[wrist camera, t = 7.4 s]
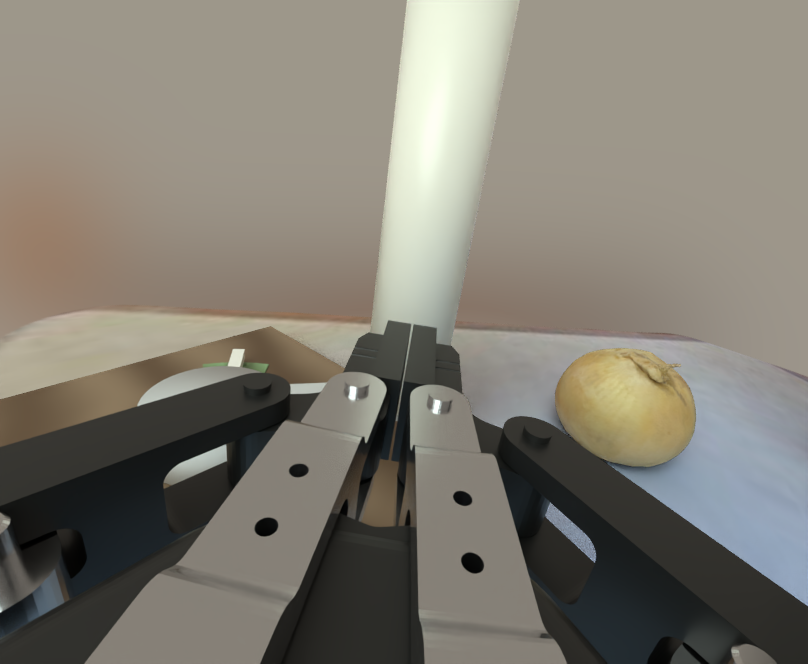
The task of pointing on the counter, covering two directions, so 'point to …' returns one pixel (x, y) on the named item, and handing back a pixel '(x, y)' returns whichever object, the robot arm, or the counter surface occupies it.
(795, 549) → the counter surface
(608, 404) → the onion
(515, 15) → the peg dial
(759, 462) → the counter surface
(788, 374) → the counter surface
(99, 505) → the robot arm
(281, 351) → the brown flat square piece
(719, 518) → the counter surface
